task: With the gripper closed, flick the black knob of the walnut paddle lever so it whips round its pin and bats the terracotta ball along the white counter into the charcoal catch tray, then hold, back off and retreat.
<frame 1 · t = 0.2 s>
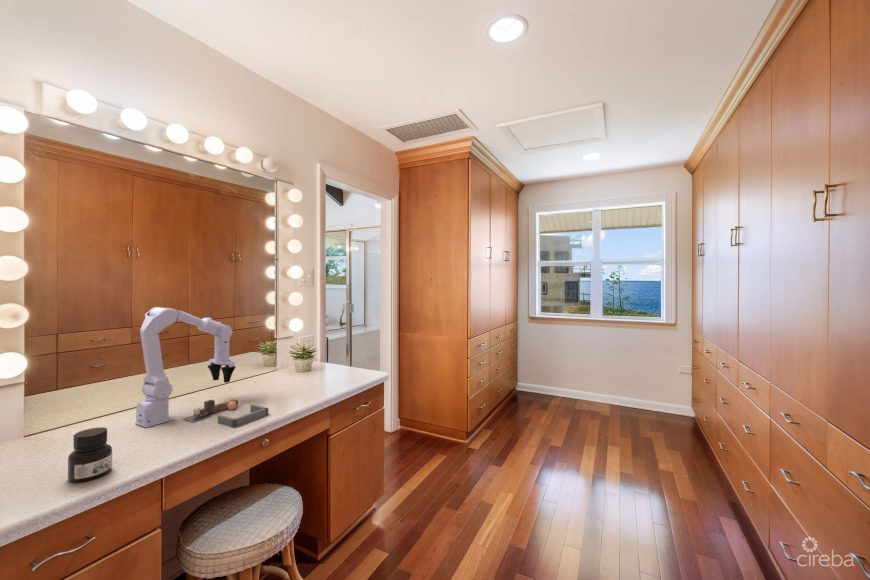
hand: (221, 381, 161), 10 cm above the counter, fingers open, 7 cm apart
lever: (219, 404, 150), point 3 cm above the counter, hinge at 0.0°
pivot base: (196, 418, 142), on the counter
ink bottle: (90, 475, 100), on the counter
ball: (232, 405, 153), point 2 cm above the counter
catch tray: (243, 418, 142), on the counter
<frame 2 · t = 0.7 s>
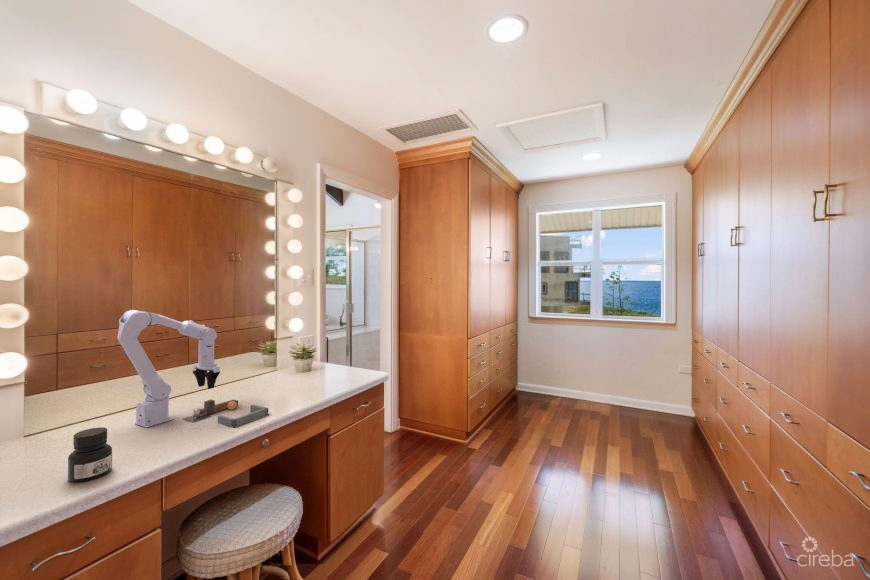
hand: (206, 387, 152), 9 cm above the counter, fingers open, 6 cm apart
nothing on the counter moved.
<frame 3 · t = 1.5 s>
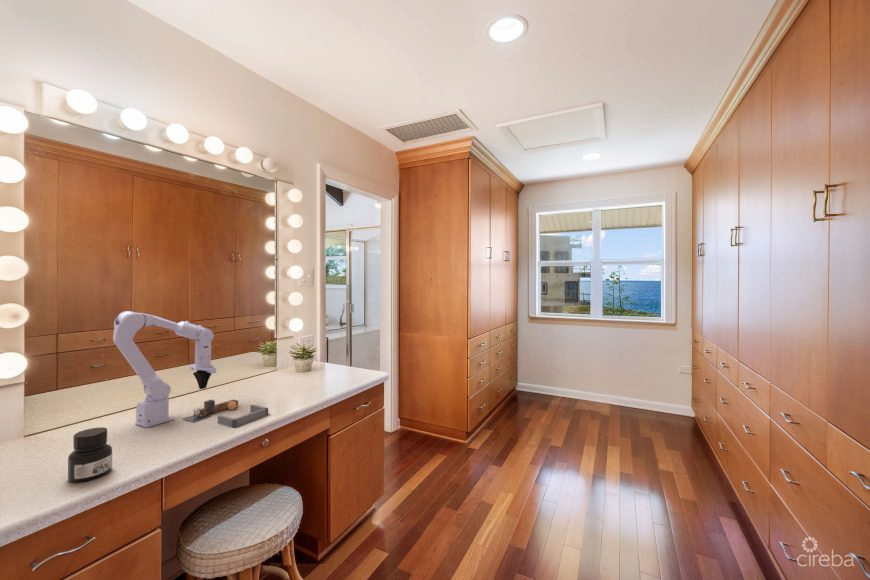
hand: (202, 388, 151), 9 cm above the counter, fingers closed
nothing on the counter moved.
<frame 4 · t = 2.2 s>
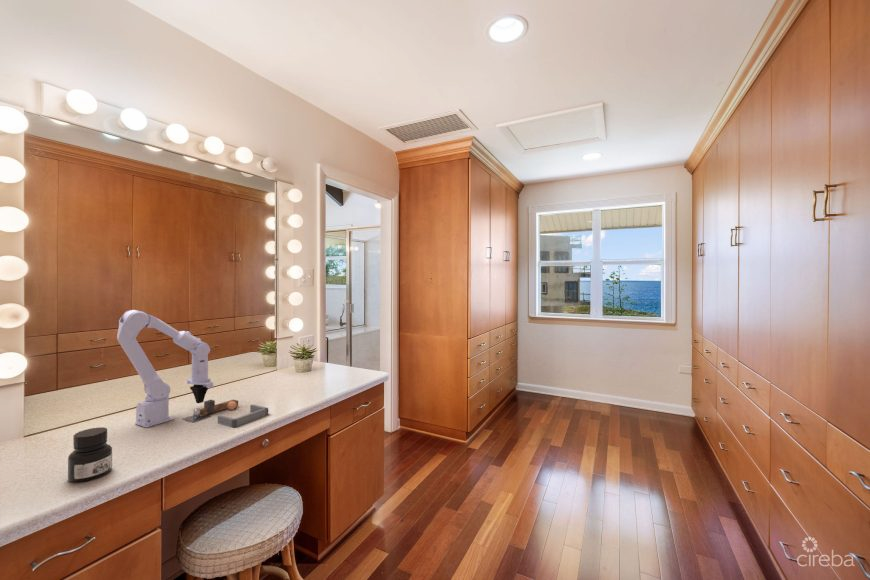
hand: (199, 402, 150), 4 cm above the counter, fingers closed
nothing on the counter moved.
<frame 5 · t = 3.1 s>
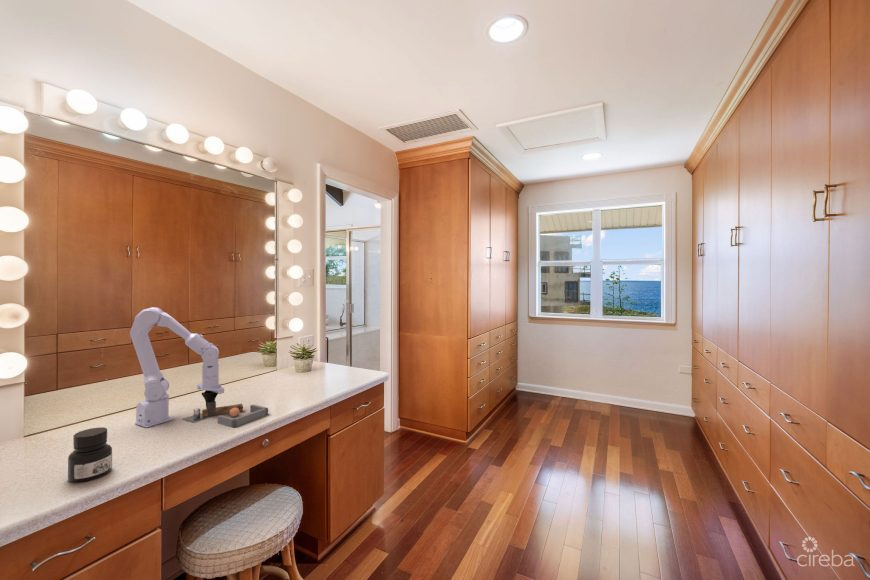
hand: (210, 408, 147), 2 cm above the counter, fingers closed, pressing on lever
lever: (222, 407, 147), point 3 cm above the counter, hinge at 30.8°, touching gripper
ball: (234, 412, 145), point 2 cm above the counter, tilted 93°
everything else where it was.
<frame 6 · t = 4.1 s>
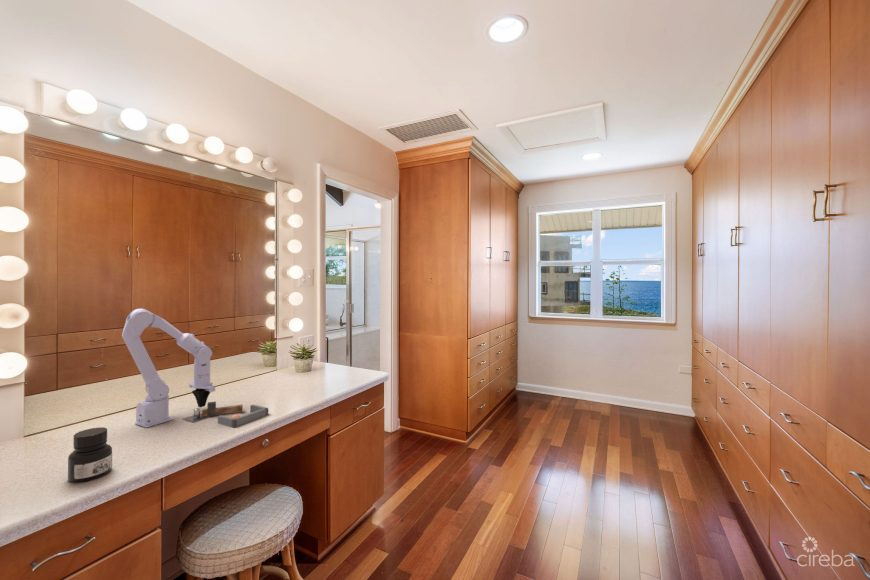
hand: (201, 406, 149), 2 cm above the counter, fingers closed
lever: (222, 407, 146), point 3 cm above the counter, hinge at 35.7°
ball: (235, 419, 137), point 2 cm above the counter, tilted 166°
everything else where it was.
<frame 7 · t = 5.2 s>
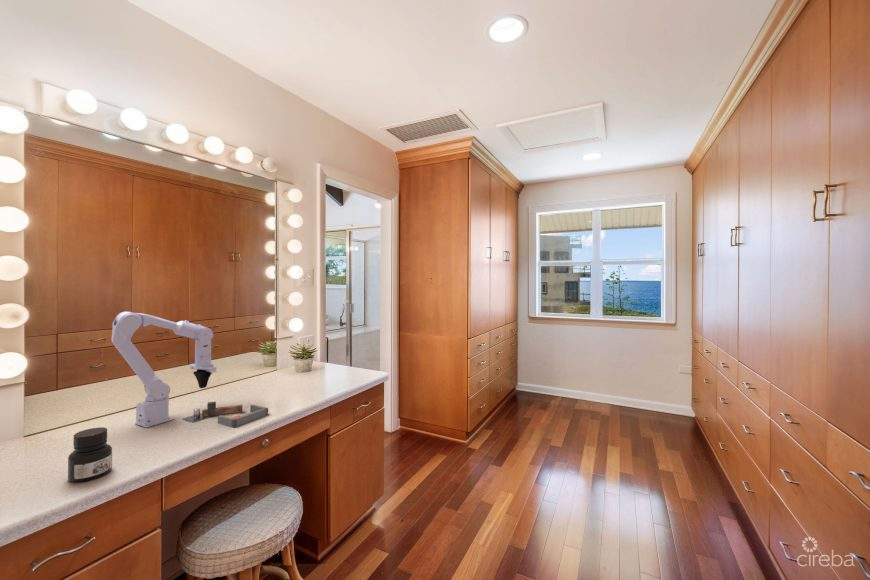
hand: (202, 387, 150), 10 cm above the counter, fingers closed
nothing on the counter moved.
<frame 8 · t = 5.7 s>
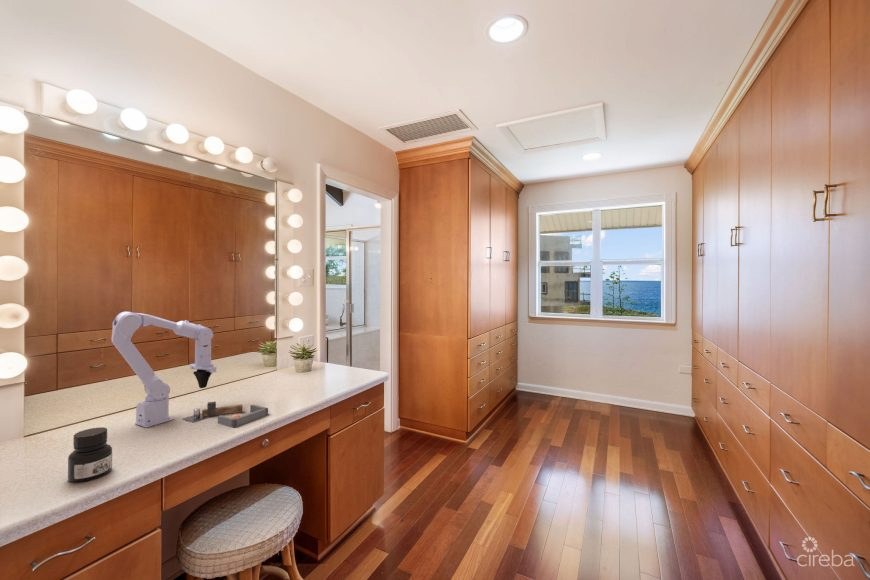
hand: (202, 387, 150), 10 cm above the counter, fingers closed
nothing on the counter moved.
at the end: ball inside the target area on the catch tray (4.9 cm from its centre), point 1.7 cm above the catch tray's base; lever at +36° (first picture: +0°) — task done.
